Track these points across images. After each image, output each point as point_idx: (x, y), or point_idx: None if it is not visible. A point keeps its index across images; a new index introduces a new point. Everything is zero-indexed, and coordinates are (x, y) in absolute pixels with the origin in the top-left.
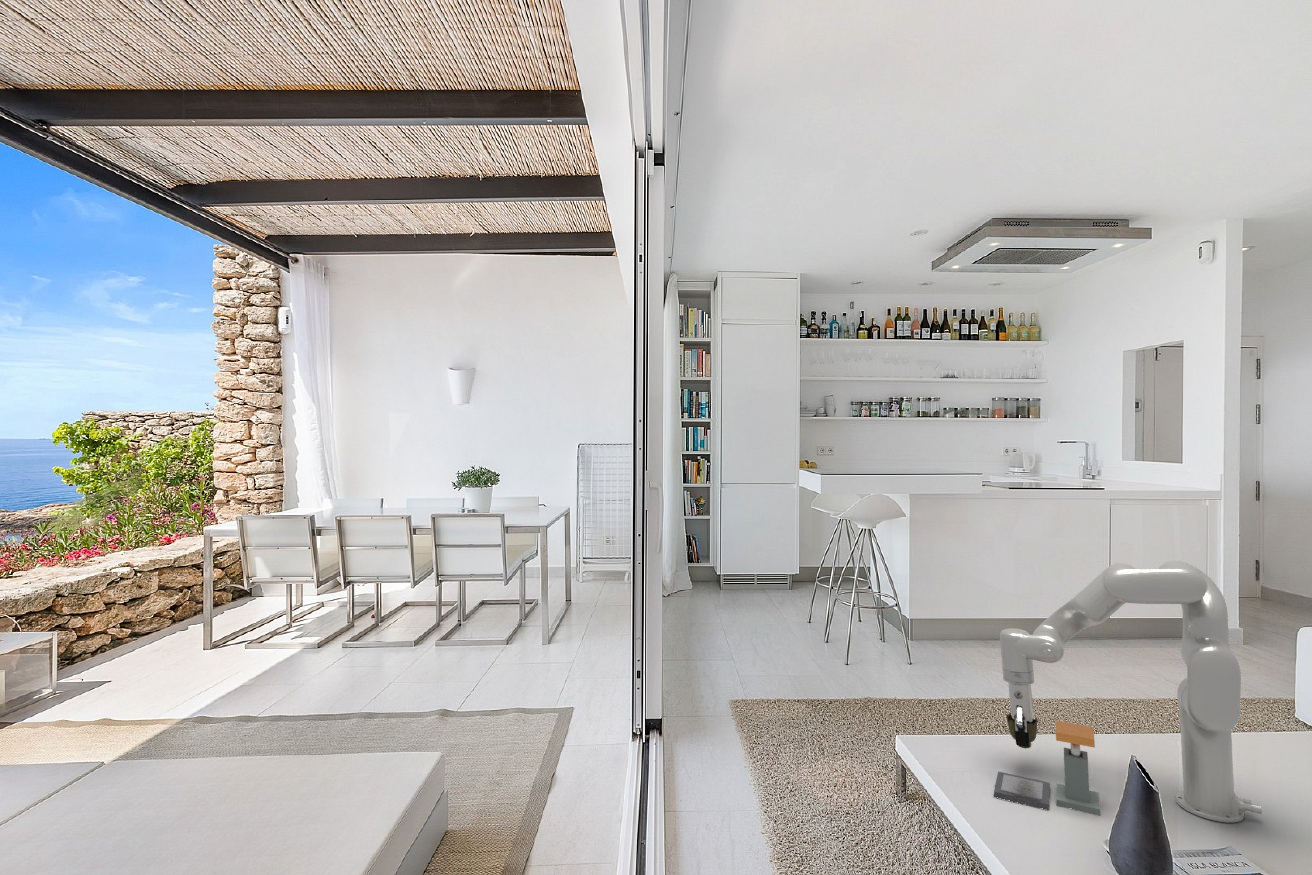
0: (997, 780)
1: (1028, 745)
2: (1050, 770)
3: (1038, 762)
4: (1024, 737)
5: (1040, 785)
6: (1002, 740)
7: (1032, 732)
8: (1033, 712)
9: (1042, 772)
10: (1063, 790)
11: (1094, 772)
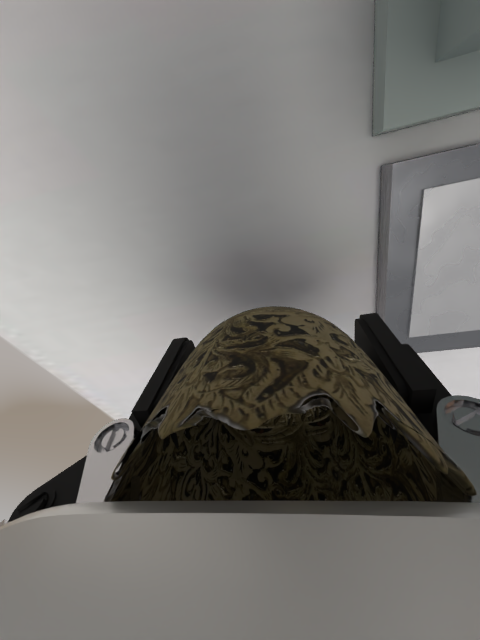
0: (470, 343)
1: (376, 320)
2: (199, 209)
3: (163, 264)
4: (431, 378)
5: (460, 192)
6: (99, 381)
7: (359, 353)
8: (82, 526)
9: (240, 231)
10: (464, 68)
11: (57, 12)
